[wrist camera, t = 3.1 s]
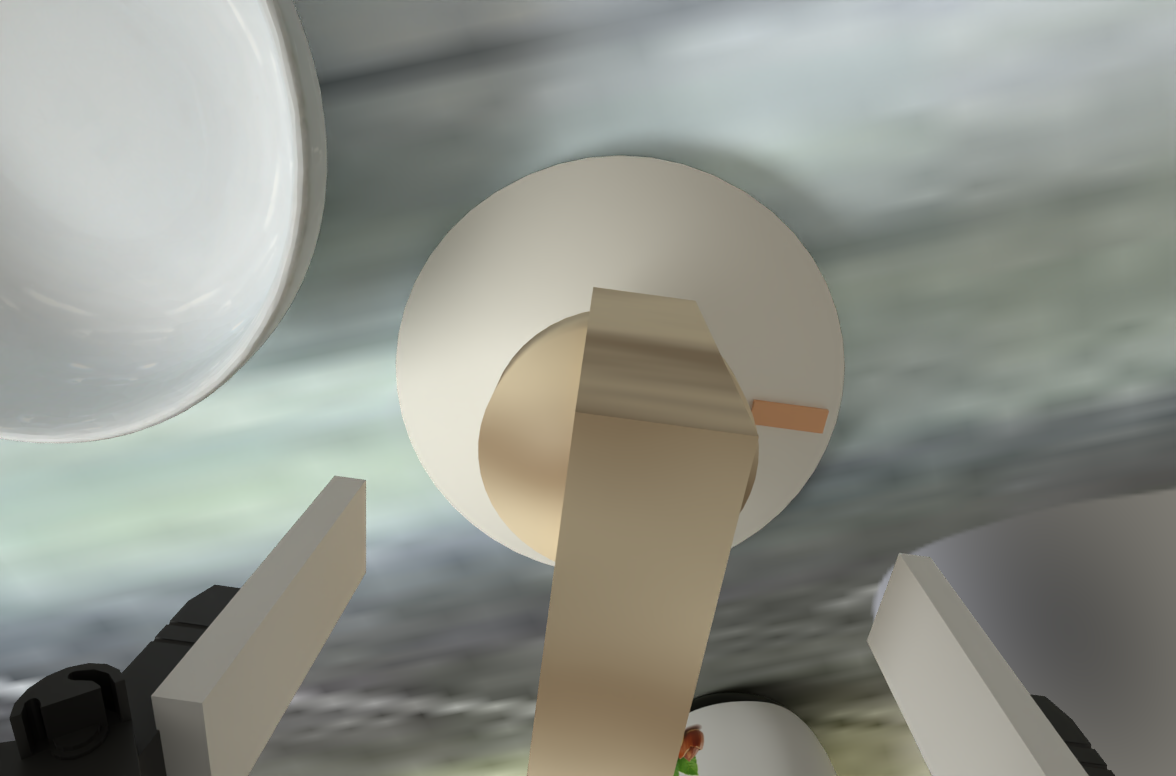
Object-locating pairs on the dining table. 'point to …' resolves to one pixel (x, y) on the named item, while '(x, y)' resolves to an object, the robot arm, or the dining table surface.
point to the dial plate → (627, 263)
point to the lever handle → (621, 519)
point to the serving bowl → (148, 204)
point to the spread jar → (748, 739)
